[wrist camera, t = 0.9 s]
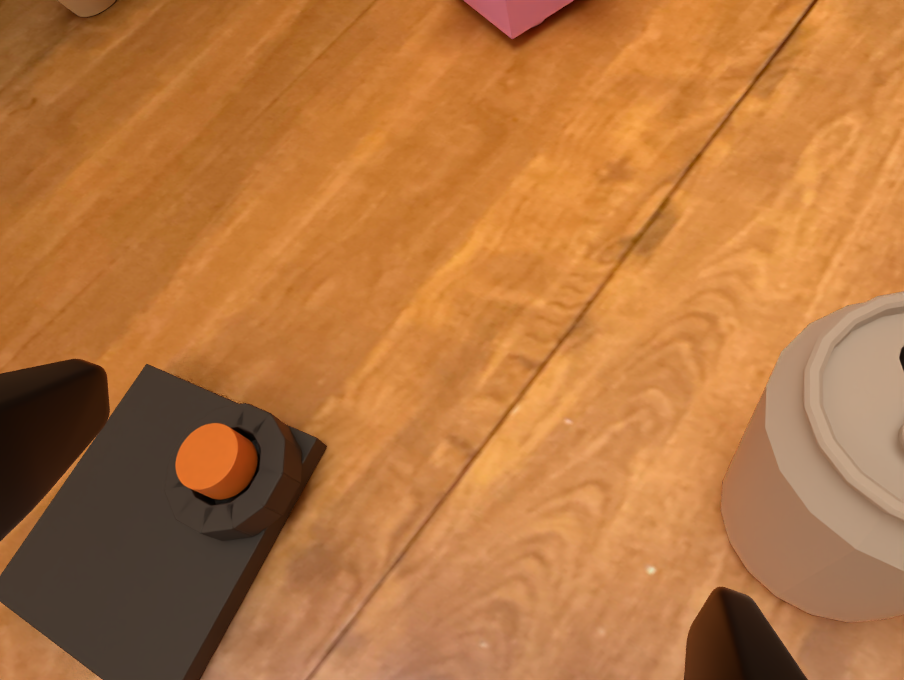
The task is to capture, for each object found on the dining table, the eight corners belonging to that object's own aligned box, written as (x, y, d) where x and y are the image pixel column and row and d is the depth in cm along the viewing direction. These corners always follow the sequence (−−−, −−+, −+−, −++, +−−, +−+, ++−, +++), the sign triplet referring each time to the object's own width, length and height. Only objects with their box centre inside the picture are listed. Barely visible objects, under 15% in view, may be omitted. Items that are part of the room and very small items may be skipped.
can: (974, 500, 24) (1240, 359, 13) (877, 673, 22) (1095, 663, 12) (777, 394, 27) (867, 218, 17) (680, 536, 25) (715, 435, 15)
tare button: (234, 510, 28) (212, 500, 26) (186, 485, 29) (162, 474, 27) (270, 449, 29) (250, 436, 27) (222, 427, 30) (200, 413, 28)
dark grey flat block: (184, 726, 27) (136, 731, 24) (8, 595, 31) (-47, 588, 29) (334, 449, 31) (308, 428, 28) (159, 372, 36) (123, 348, 33)
